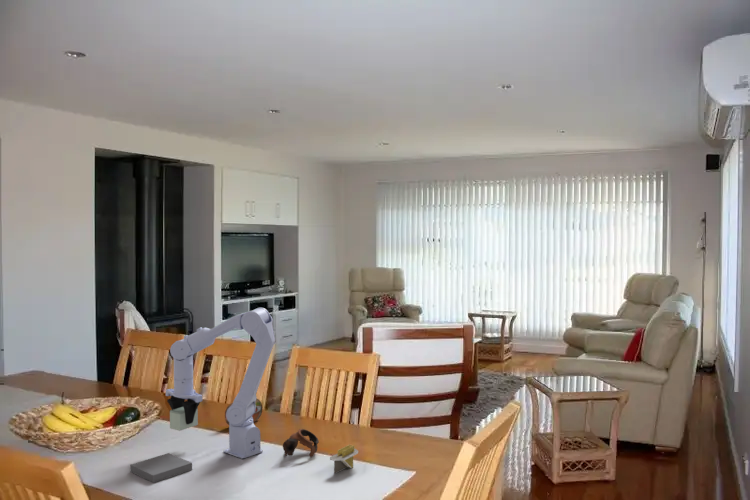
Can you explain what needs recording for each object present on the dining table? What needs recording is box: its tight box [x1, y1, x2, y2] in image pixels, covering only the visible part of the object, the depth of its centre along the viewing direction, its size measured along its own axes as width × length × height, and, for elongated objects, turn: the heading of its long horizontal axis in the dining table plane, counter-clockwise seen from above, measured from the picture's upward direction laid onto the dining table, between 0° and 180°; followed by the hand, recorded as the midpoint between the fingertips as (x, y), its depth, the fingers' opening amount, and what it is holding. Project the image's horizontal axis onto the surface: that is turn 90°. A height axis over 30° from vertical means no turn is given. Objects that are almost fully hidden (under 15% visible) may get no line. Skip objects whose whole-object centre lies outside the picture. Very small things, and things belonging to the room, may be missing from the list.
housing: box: [169, 406, 199, 432], centre depth 193 cm, size 4×7×6 cm, turn 147°
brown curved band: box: [282, 428, 320, 458], centre depth 187 cm, size 12×10×8 cm
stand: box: [129, 452, 193, 484], centre depth 175 cm, size 12×12×2 cm
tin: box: [224, 398, 263, 426], centre depth 218 cm, size 15×3×8 cm, turn 141°
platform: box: [329, 444, 359, 475], centre depth 176 cm, size 12×18×7 cm, turn 146°
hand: (184, 421), depth 193 cm, fingers closed on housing, 4 cm apart
